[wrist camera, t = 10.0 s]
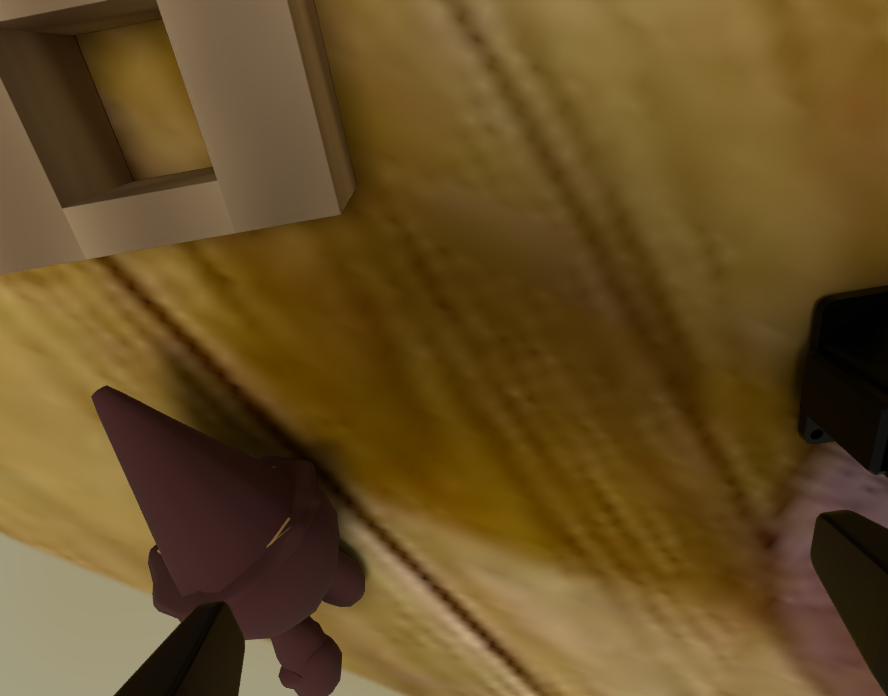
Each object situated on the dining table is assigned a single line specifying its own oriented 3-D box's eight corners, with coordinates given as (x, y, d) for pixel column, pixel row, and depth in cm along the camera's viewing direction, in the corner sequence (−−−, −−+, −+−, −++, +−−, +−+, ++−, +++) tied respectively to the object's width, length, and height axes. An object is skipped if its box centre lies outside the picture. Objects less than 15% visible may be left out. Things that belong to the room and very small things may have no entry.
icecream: (-69, 501, 16) (246, 726, 23) (103, 453, 13) (399, 727, 20) (91, 352, 21) (305, 573, 29) (237, 297, 19) (433, 557, 26)
